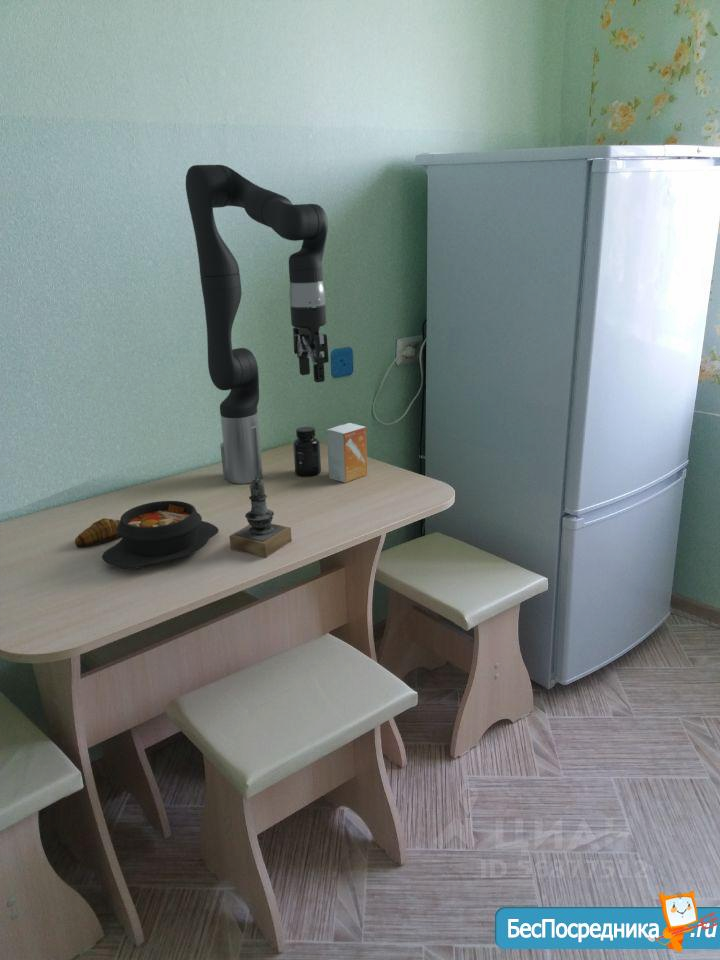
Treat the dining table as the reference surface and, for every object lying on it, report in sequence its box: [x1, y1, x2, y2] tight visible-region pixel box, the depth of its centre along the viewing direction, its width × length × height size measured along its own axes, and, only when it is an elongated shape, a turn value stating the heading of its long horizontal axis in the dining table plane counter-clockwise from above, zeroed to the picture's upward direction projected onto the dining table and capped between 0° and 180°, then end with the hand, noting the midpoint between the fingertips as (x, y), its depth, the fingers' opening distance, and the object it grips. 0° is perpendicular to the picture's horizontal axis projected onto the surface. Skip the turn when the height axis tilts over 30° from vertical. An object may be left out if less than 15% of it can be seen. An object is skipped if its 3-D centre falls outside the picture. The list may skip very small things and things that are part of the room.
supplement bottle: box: [292, 426, 322, 478], centre depth 203 cm, size 7×7×12 cm
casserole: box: [101, 500, 220, 569], centre depth 161 cm, size 25×19×8 cm
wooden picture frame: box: [228, 522, 293, 558], centre depth 163 cm, size 9×9×3 cm
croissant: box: [74, 518, 122, 548], centre depth 169 cm, size 14×7×5 cm, turn 131°
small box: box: [326, 422, 368, 484], centre depth 199 cm, size 8×6×13 cm
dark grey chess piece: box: [244, 476, 275, 536], centre depth 160 cm, size 6×6×12 cm
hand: (312, 378), depth 173 cm, fingers open, 8 cm apart
